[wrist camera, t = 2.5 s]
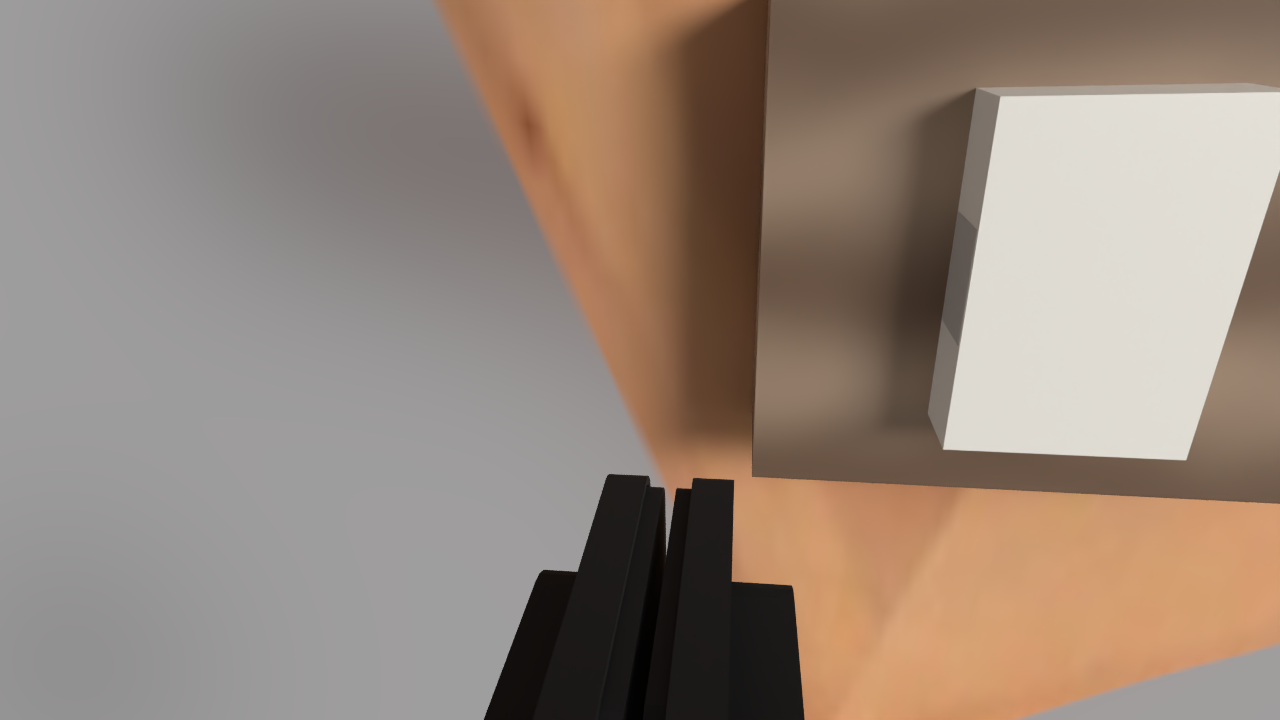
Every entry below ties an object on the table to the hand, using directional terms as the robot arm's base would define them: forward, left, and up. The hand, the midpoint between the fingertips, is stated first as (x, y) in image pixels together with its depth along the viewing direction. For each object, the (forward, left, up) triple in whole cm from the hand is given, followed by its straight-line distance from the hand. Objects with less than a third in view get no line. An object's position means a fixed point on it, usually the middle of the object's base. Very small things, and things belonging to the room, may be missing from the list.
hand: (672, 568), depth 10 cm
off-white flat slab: (0, +9, -11) cm, 15 cm away
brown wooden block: (0, +10, -16) cm, 19 cm away
